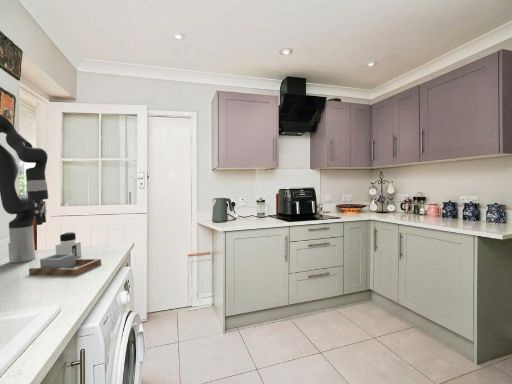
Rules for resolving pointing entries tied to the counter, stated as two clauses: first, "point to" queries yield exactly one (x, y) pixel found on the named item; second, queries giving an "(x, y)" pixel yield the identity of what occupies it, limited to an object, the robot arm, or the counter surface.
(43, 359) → the counter surface
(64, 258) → the box
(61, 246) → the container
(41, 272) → the bay
